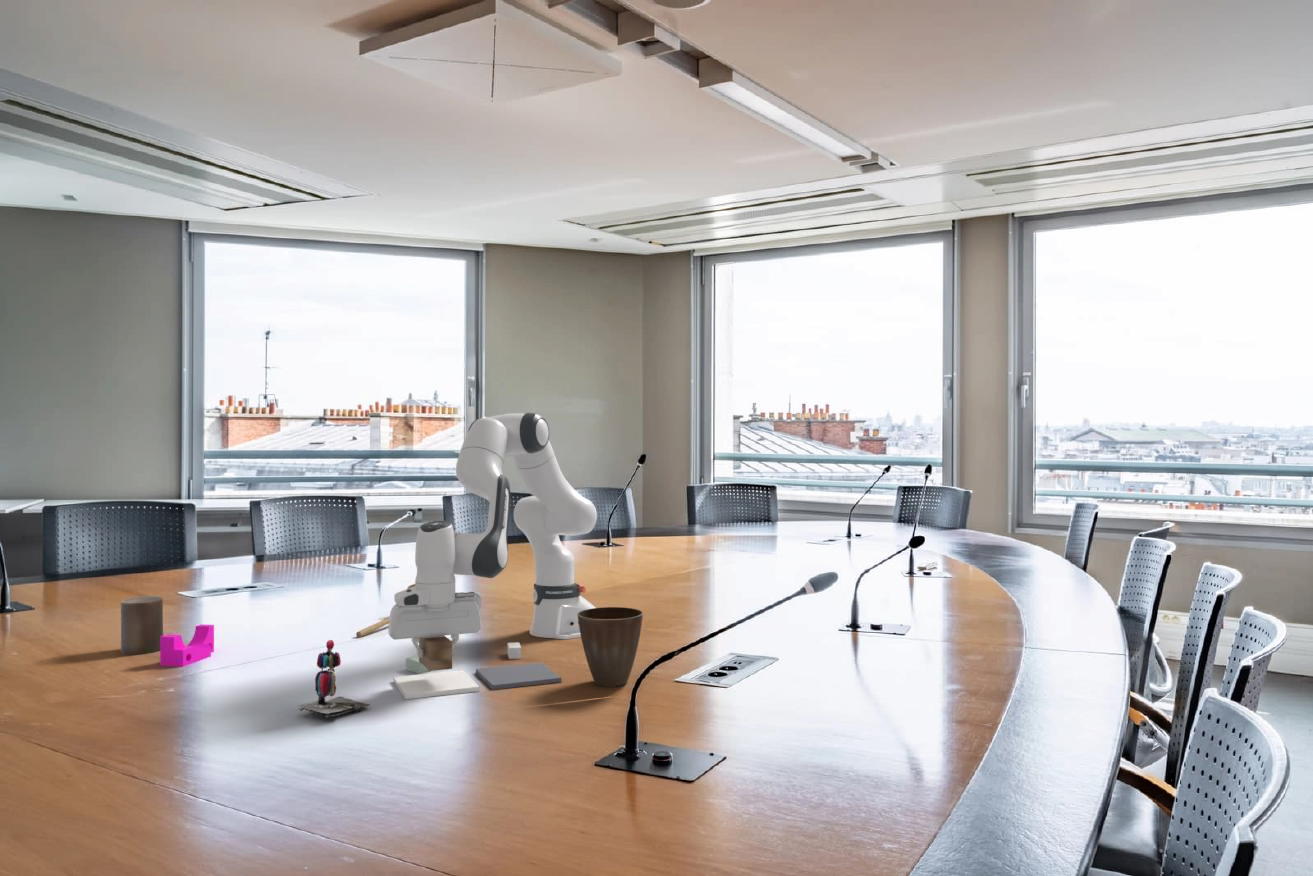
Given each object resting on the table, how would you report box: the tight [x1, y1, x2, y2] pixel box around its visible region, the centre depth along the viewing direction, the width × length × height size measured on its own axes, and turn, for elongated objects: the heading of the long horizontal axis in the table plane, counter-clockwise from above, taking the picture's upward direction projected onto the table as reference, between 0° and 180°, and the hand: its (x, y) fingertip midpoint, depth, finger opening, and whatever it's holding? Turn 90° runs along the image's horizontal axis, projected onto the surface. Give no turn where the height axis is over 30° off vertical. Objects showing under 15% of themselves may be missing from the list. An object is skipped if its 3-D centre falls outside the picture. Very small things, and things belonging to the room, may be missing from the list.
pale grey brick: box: [507, 641, 522, 660], centre depth 244 cm, size 6×3×3 cm, turn 13°
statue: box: [297, 639, 371, 718], centre depth 195 cm, size 11×9×15 cm
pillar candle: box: [120, 594, 164, 656], centre depth 248 cm, size 10×10×15 cm
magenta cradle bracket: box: [159, 624, 215, 668], centre depth 239 cm, size 15×6×8 cm, turn 169°
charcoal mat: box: [475, 661, 562, 691], centre depth 223 cm, size 16×16×1 cm
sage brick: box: [405, 655, 432, 675], centre depth 229 cm, size 6×3×3 cm, turn 46°
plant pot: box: [577, 606, 644, 688], centre depth 218 cm, size 15×15×16 cm
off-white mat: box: [393, 669, 480, 700], centre depth 215 cm, size 16×16×1 cm
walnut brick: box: [418, 635, 453, 672], centre depth 215 cm, size 5×10×6 cm, turn 27°
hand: (435, 655), depth 215 cm, fingers closed on walnut brick, 5 cm apart
